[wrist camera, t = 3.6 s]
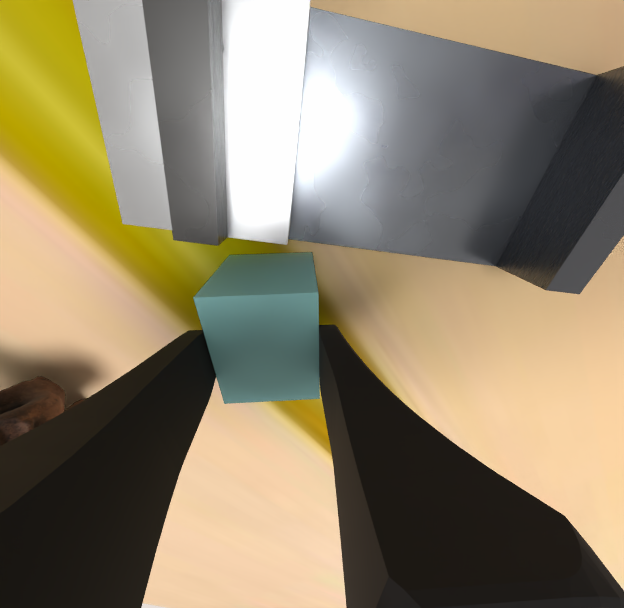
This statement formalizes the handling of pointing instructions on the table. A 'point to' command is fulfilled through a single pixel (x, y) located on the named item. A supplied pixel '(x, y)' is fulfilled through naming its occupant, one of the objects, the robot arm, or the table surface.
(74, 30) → the table surface
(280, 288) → the teal block
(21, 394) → the brown looped part
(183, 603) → the table surface
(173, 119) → the grey stepped block
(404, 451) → the robot arm
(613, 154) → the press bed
